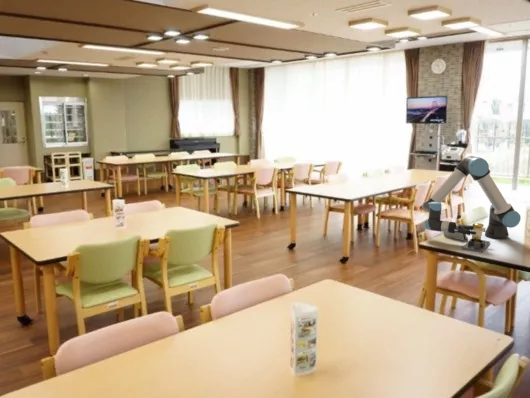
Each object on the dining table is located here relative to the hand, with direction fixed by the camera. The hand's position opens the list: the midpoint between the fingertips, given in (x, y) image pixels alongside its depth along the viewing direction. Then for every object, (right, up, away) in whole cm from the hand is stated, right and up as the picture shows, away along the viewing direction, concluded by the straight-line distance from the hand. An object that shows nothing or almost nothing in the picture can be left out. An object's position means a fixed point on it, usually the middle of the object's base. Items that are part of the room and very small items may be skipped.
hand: (483, 231), depth 312 cm
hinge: (-9, -6, +27) cm, 29 cm away
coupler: (-3, -8, +3) cm, 10 cm away
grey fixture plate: (-3, -10, +4) cm, 11 cm away
